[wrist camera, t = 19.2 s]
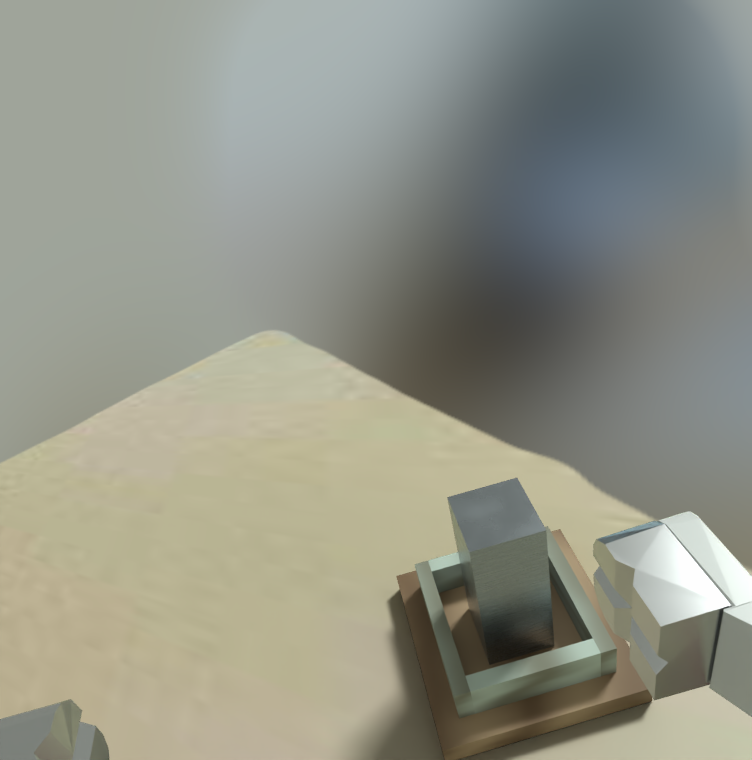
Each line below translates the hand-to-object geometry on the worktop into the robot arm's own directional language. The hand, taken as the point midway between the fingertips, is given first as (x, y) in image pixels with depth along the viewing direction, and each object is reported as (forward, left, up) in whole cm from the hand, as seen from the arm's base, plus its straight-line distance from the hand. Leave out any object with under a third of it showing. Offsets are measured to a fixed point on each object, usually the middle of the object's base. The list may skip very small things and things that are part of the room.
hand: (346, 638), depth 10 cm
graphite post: (+7, +19, -30) cm, 36 cm away
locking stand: (+7, +19, -32) cm, 37 cm away
